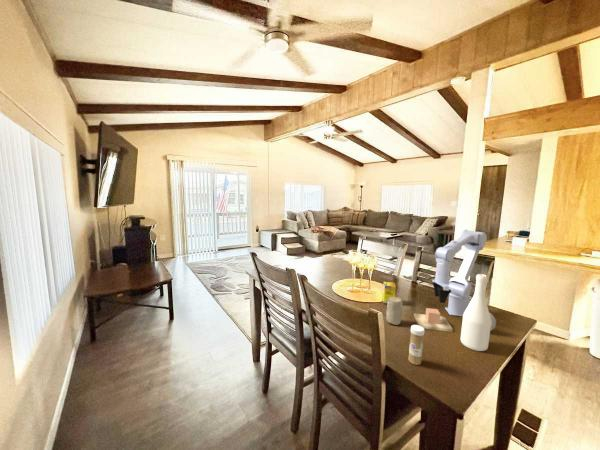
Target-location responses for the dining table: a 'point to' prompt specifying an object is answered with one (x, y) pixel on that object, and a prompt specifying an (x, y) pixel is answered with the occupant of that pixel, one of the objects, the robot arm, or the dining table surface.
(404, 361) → the dining table surface
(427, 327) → the birch board
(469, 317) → the wine bottle
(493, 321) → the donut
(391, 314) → the carving
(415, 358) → the sprinkles bottle
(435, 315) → the peach cube
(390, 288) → the supplement box
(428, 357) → the dining table surface
